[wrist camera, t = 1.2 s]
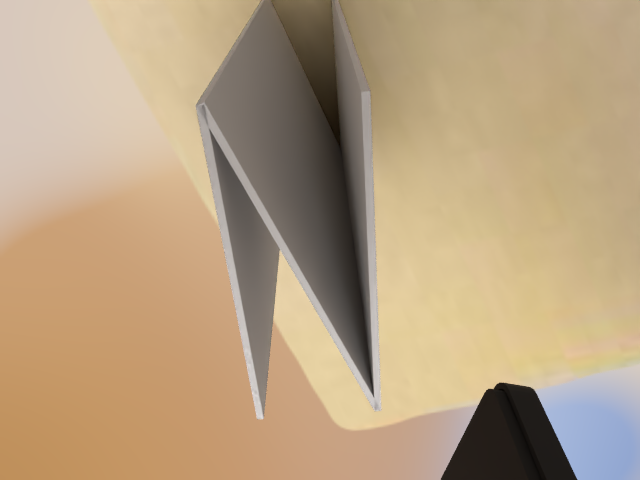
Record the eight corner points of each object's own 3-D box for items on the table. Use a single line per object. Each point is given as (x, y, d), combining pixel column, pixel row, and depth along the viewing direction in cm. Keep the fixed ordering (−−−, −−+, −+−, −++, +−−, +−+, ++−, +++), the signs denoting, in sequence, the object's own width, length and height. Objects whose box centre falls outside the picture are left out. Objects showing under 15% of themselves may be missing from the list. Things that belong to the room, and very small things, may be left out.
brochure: (264, -6, 43) (194, 103, 17) (334, -12, 43) (370, 88, 17) (284, 162, 50) (257, 419, 24) (344, 158, 50) (381, 410, 24)
